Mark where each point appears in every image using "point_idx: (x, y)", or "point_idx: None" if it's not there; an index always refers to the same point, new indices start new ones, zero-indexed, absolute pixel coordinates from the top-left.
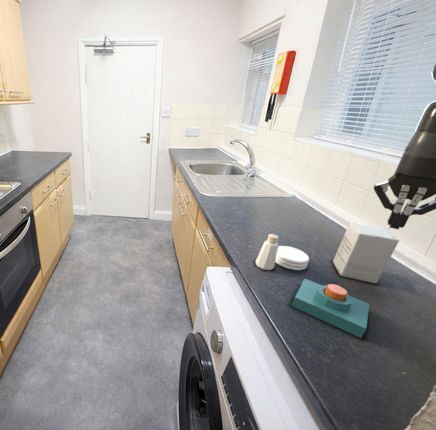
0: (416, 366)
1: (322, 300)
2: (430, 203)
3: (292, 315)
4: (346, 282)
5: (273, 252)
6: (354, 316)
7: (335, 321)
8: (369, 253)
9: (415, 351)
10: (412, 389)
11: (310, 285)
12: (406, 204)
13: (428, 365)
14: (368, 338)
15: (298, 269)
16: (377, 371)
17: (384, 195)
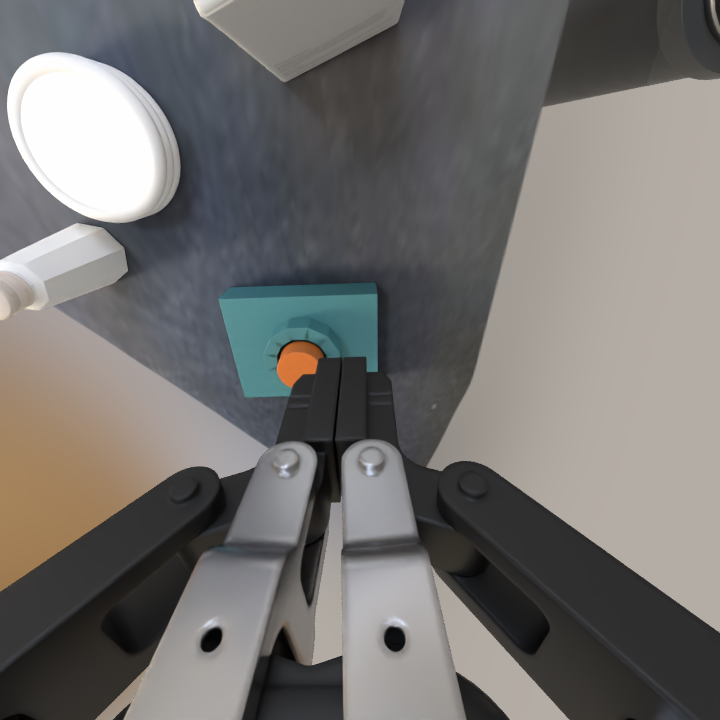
0: (454, 379)
1: None
2: (558, 665)
3: (267, 404)
4: (311, 126)
5: (72, 293)
6: None
7: None
8: (321, 16)
9: (460, 340)
10: (440, 427)
11: (245, 323)
12: (344, 533)
13: (473, 362)
14: (387, 366)
15: (172, 197)
16: (401, 428)
17: (95, 710)
